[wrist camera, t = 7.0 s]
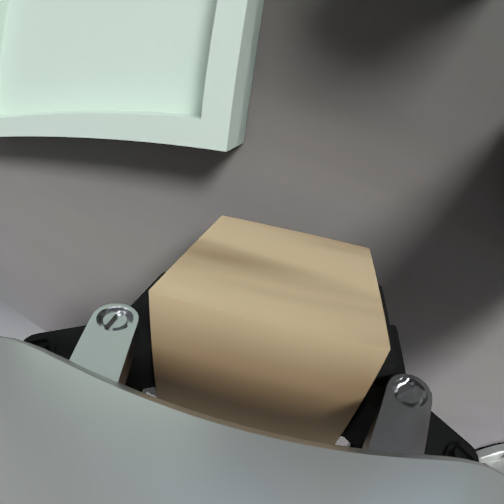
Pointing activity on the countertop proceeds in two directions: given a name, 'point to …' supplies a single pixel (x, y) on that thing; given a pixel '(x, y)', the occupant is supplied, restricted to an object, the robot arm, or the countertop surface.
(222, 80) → the sage tray
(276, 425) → the oak block
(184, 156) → the countertop surface
